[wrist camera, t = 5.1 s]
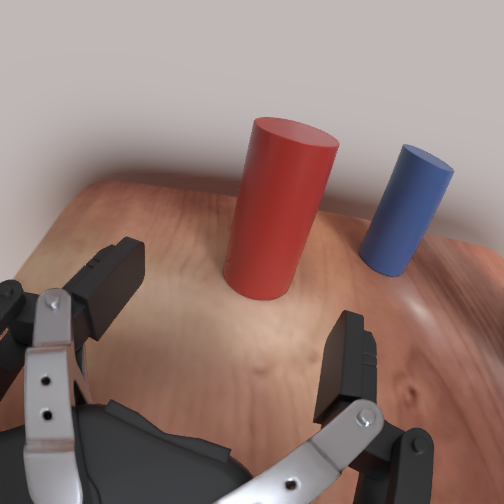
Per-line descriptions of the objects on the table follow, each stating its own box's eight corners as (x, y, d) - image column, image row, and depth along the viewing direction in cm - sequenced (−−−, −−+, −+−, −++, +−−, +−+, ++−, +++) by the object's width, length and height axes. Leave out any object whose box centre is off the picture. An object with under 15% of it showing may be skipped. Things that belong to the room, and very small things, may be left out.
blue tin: (364, 270, 26) (416, 157, 20) (354, 239, 31) (395, 138, 24) (409, 280, 27) (464, 178, 20) (395, 249, 31) (439, 157, 24)
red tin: (218, 291, 21) (250, 130, 15) (228, 248, 25) (257, 112, 19) (290, 306, 21) (347, 155, 15) (289, 261, 25) (332, 131, 19)
